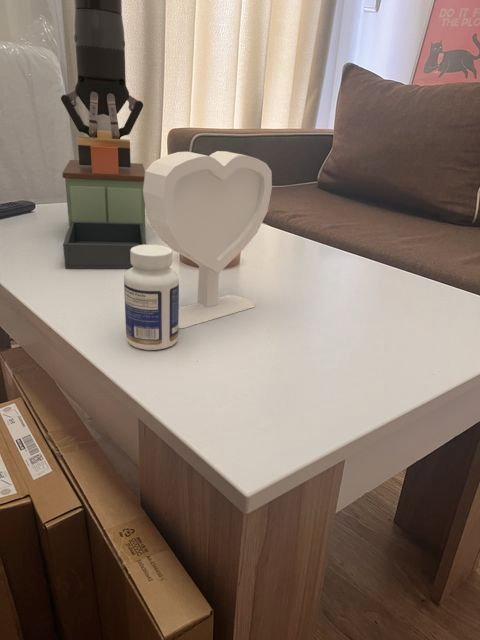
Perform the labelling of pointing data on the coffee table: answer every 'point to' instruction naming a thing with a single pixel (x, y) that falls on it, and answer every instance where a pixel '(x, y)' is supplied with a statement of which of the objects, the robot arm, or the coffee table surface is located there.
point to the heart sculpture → (207, 218)
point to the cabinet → (105, 194)
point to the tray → (101, 244)
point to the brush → (104, 138)
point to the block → (104, 159)
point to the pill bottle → (151, 298)
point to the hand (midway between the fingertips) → (105, 159)
